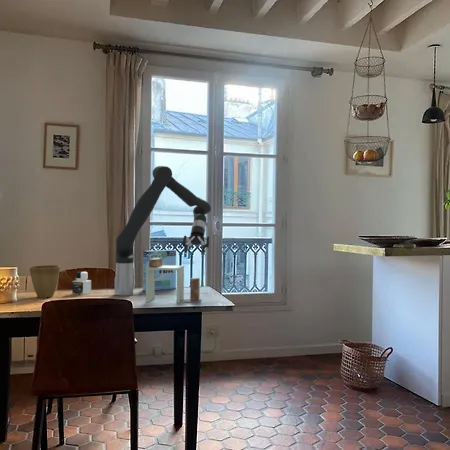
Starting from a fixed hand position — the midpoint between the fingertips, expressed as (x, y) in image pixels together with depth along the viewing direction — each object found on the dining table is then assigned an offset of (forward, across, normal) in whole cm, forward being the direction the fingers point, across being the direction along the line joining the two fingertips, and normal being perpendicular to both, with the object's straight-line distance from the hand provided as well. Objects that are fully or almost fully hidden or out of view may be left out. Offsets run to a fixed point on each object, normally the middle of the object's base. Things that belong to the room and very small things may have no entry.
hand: (194, 251), depth 242 cm
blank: (+26, +3, +7) cm, 27 cm away
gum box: (0, -24, +35) cm, 42 cm away
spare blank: (+14, -17, -4) cm, 23 cm away
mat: (+26, +2, +7) cm, 27 cm away
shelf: (+26, -12, +8) cm, 30 cm away
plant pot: (+26, -76, +10) cm, 81 cm away
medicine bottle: (+16, -62, +20) cm, 67 cm away
